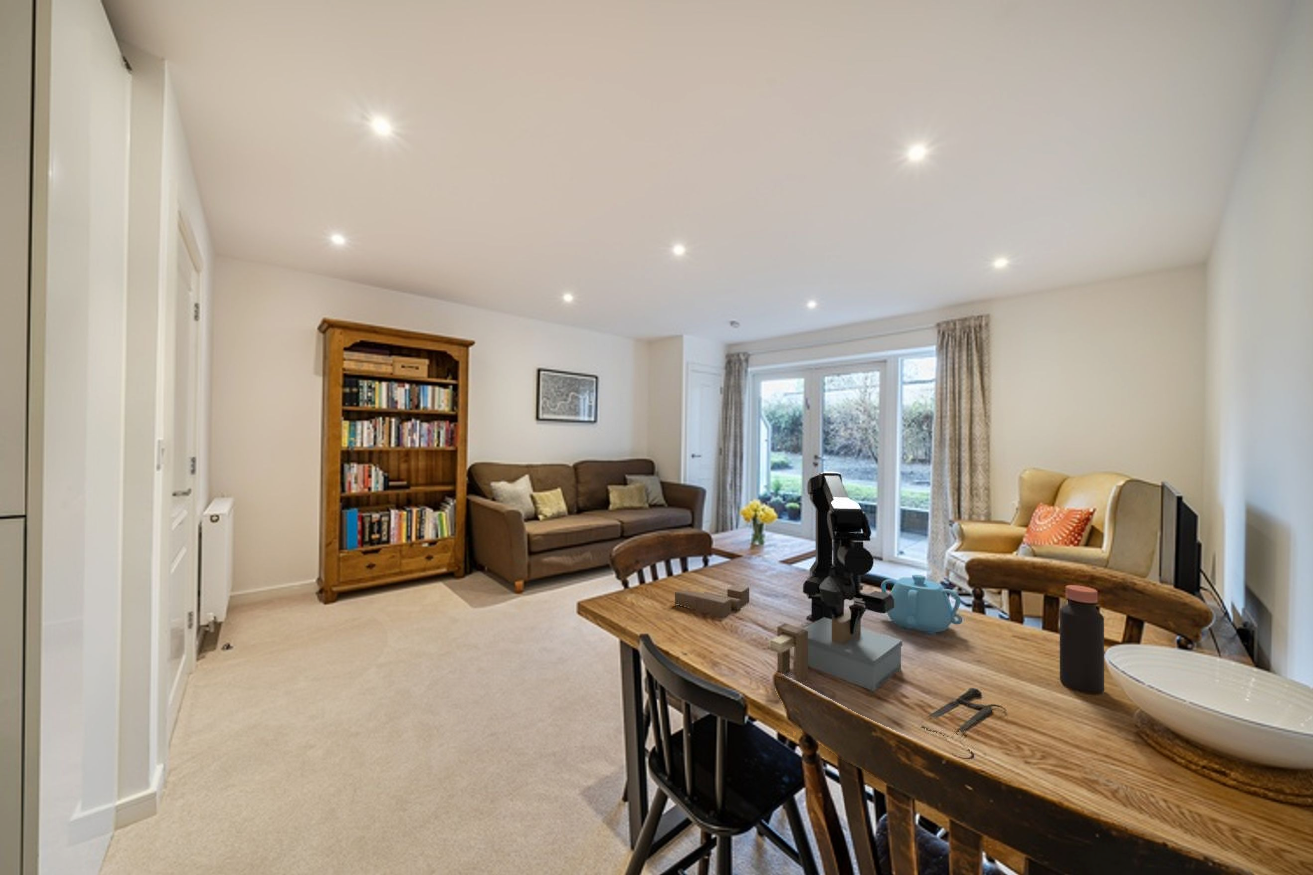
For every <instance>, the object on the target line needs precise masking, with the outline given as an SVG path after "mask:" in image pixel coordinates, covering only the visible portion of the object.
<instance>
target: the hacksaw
mask: <svg viewBox="0 0 1313 875" xmlns="http://www.w3.org/2000/svg"><path fill="white" fill-rule="evenodd" d="M980 697H982V692H981V691H980V690H979V689H978V688H975V687H970V688H968V690H967V691H966V692H964V693H963V694H962V695H959V696H958V697H957V698H955V701H953V700H951V701H949V702H948V703H946V704H944V705H943V706H941V707H940V708H938V709H936V711H933V712H932V713H931V714H928V717H931V718H932V717H933V718H935V719H937V718H939V717H941V716H942V715H944V714H946V713H947V712H950V710H952V709H954V708H955V707H957V706H959V705H960V704H963V705H965V706H967V707H971V708H974V709H979V711H978V712H977V713H974V715H973V716H972V717H970V718H969V719H968V720H966V721H965V723H964V724H962V725H961V726H960V727H959V728H958V729H957V730H955V733H956V732H959V730H960V731H961V732H962V733H963V732H964V731H966V730H967V729H968V730H970V729H971V728H973V726H972V725H974V726H975V725H976V724H978V723H979V722H980V720H981V721H982V720H983V719H984V718H986V717H987V716H988V715H990V714H991V713H992V712H993V711H994V710H993V707H998V708H1001V709H1003V712H1002V714H1004V713H1006V711H1007V710H1006V708H1004V707H1003V706H1001V705H998V704H995V703H992V704H987V705H986V704H980V703H979V704H978V703H974V702H971V701H969V700H971V699H975V698H980ZM917 726H919V727H920V729H923V730H925V728H926V730H925V731H928V732H929V733H930V732H931V731H932V729H930V730H928V729H929V728H928V727H926V726H924V725H922V726H920V724H918V725H917ZM970 727H971V728H970ZM969 728H970V729H969ZM968 730H967V731H968ZM967 731H966V732H967ZM934 732H936V733H935V734H937V732H939V733H940V734H942V732H940V731H937V730H933V731H932V732H931V733H934ZM940 734H939V735H940ZM943 734H944V735H946V734H945V733H943ZM956 734H957V733H956ZM944 735H943V737H944ZM957 735H958V734H957ZM963 735H964V736H966V735H967V734H966V733H964V734H963ZM948 736H949V735H947V737H948ZM968 750H969V751H970V750H971V749H970V748H968ZM968 750H967V751H968ZM969 751H968V752H969ZM970 754H971V755H970V756H969V757H962V756H958V757H957V755H955V754H953V757H957V758H959V759H964V760H973V759H974V757H975V754H974V752H973V751H972V750H971V753H970Z"/></svg>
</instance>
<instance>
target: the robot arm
mask: <svg viewBox="0 0 1313 875" xmlns="http://www.w3.org/2000/svg"><path fill="white" fill-rule="evenodd" d="M806 488H807V495H809V500H810V502H811V504H812V505H813V506H814V509H815V561H814V562H813V564H812V565H811V566H810V568H809V573H808V574H809V575H808V576H807V578H806V580H805V581H804V582H803V584H802V593H803V594H805V595H806V596H807V599H808V600H810V599H811V604H810V605H811V608H810V610H811V612H810V614H809V615H807V616H806V619H808V620H811V621H814V622H816V621H818V620H820V619H822V618H824V617H825V618H828V619H832V620H833V619H835V618H837V617H839V616H841V615H843V614H844V613H845V600H847V601H853V604H850V605H849V606H848V609H849V611H851V621H850V632H851V634H852V635H853V634H854V633H855V631H856V629H857V627H858V624H859V622H860V620H862V617H863V616H864V614H865V612H866V611H867V610H868V611H870V612H875V613H878V614H887V612H888V611H889V610H891V609H893V608H894V598H893V597H892V595H891V594H890V593H888V592H887V593H882V591H878V590H874V591H871V592H870V593H865V592H862V590H863V589H864V587H863V586H864V585H863V584H861V576H864V575H866V574H868V573H870V572H871V570H872V569H873V567H874V558H873V555H872V553H871V552H870V551H869V550H867V549H866V548H865V547H864V542H871V536H872V530H871V526H870V524H869V523H870V522H869V520H868V517H867V515H866V512H864V511H863V509H862V508H861V506H860V505H859V503H858V502H856V501H853V500H851V499H850V496H849V495H848V492H847V490H846V489H845V486H844V484H843V479H842V474H841V472H838V471H822V472H819V474H818V475H815V476H811V477H810V478H809V480H808V481H807V487H806Z"/></svg>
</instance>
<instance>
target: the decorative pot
mask: <svg viewBox="0 0 1313 875" xmlns="http://www.w3.org/2000/svg"><path fill="white" fill-rule="evenodd" d="M911 576H912V577H908V576H907V577H906V576H905V577H900V578H899V579H897V580H895V579H892V578H888V579H885V580H883V581H882V582H881V585H880V589H881V592H882V593H887V594H888V592H887V588H886V587H887V586H886V584H893V586H892V589H891V591H890V592H889V594H891V595H892V597H893V598H894V608H893V609H891V610H889V611H888V612H886V615H888V617H889V619H890V620H891V622H892V623H895V624H896V625H897V627H899V628H901V629H908V628H909V629H912V630H917V631H923V632H924V633H925V634H928V635H936V633H942V632H944V631H946V630H947V629H948V628H949V627H950V625H951V624H954V625H961V624H963V617H962V616H961V615H960V614H959V613H957V612H958V610H959V608H960V606H961V596H960V595H959V594H958V593H957V592H956V591H955V590H952V589H948V588H944V586H943V585H942V584H941V583H940V582H937V581H933V580H929V579H927V576H925V575H922V574H912V575H911ZM948 594H949V595H952V596H953V597H954V599H955V602H954V606H953V608H952V603H951V601H950V598H949V596H948ZM955 618H957V619H958V620H957V619H955Z"/></svg>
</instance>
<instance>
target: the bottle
mask: <svg viewBox="0 0 1313 875" xmlns="http://www.w3.org/2000/svg"><path fill="white" fill-rule="evenodd" d="M1098 598H1099V597H1098V590H1096V589H1095V588H1093V587H1092V588H1091V587H1089V586H1088V587H1087V586H1083V585H1079V584H1078V585H1076V584H1069V585H1068V584H1067V585H1066V586H1065V600H1066V601H1067V603H1066V604H1064V605H1063V606H1061V608H1060V609H1059V680H1060V683H1061V684H1063V686H1065V687H1067V688H1069V689H1072V690H1073V691H1076V692H1080V693H1082V694H1083V693H1084V694H1087V695H1101V694H1103V693H1104V691H1105V618H1104V617H1105V616H1103V614H1101V612H1100V611H1099V610H1097V608H1096V606H1097V605H1098Z"/></svg>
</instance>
